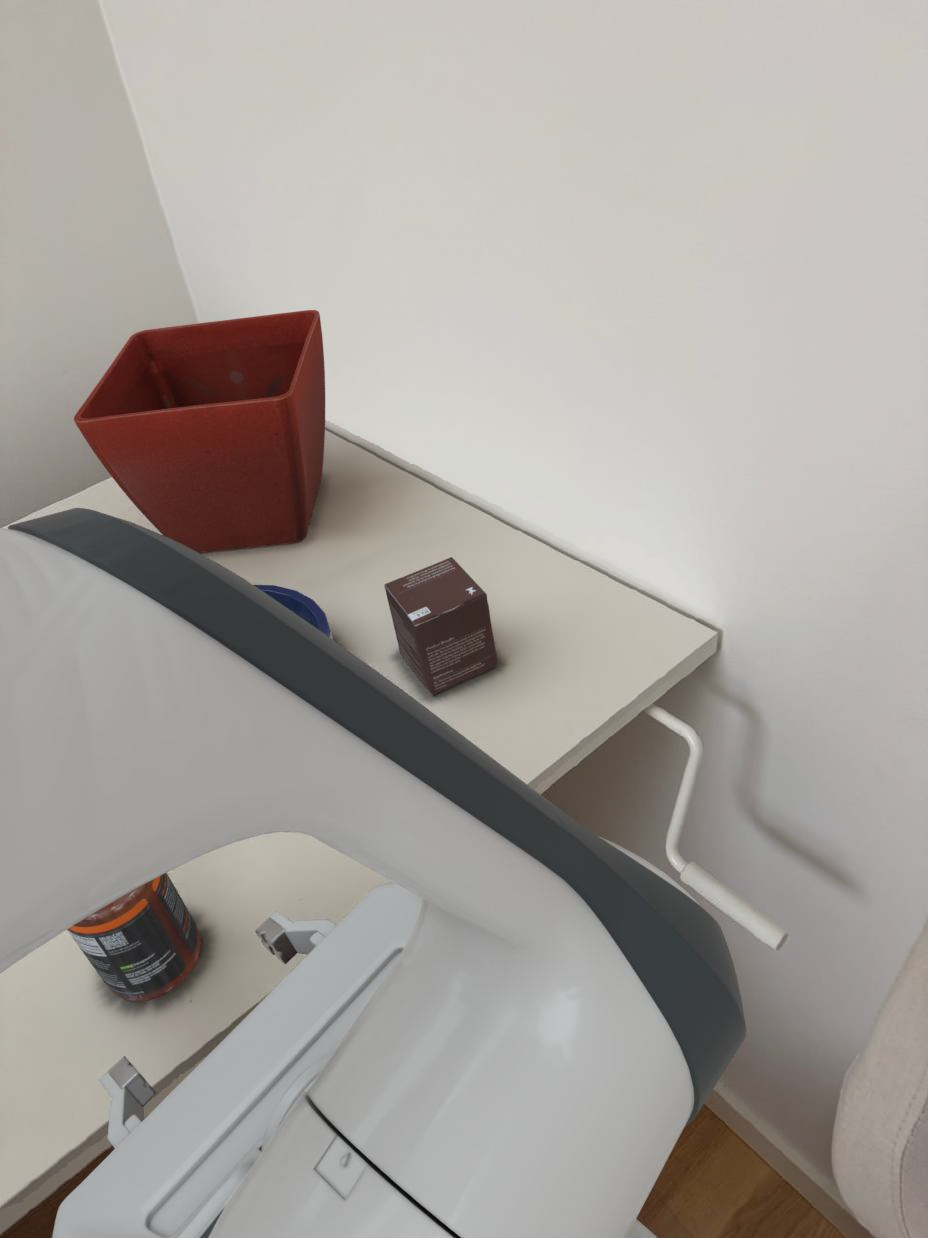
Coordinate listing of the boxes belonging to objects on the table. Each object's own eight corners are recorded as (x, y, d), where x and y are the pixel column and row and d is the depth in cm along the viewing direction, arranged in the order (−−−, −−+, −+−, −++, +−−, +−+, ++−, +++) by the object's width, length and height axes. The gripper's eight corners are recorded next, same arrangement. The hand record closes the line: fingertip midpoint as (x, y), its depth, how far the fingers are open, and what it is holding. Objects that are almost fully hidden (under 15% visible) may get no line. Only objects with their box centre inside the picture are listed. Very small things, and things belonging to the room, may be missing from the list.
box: (466, 627, 79) (453, 554, 74) (500, 667, 74) (489, 593, 70) (399, 655, 77) (381, 583, 72) (429, 698, 72) (413, 624, 68)
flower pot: (334, 560, 89) (289, 394, 78) (137, 580, 91) (68, 420, 80) (356, 458, 104) (320, 306, 93) (187, 477, 106) (133, 330, 95)
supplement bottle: (172, 900, 61) (107, 782, 54) (222, 955, 58) (159, 836, 50) (88, 964, 58) (8, 849, 51) (136, 1026, 55) (56, 911, 48)
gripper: (519, 924, 41) (327, 813, 51) (125, 1381, 31) (-24, 1136, 41) (554, 1009, 45) (367, 890, 54) (208, 1446, 34) (53, 1206, 44)
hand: (197, 998), depth 47 cm, fingers open, 8 cm apart
